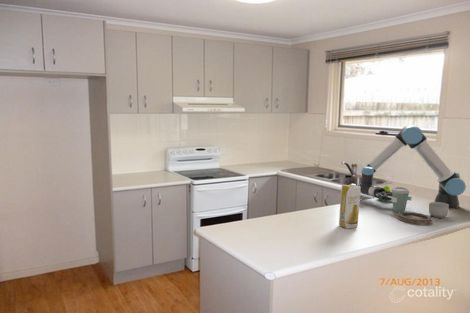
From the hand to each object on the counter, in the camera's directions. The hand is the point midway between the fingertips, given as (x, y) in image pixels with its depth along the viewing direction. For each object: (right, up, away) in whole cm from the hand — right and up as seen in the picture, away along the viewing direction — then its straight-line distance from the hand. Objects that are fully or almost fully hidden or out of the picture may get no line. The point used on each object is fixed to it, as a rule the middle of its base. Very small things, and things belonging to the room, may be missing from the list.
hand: (403, 199), depth 235 cm
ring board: (0, -10, -14) cm, 18 cm away
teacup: (+19, -10, -3) cm, 22 cm away
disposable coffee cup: (-2, -8, +4) cm, 9 cm away
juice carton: (-44, -11, -31) cm, 55 cm away
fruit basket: (+2, -5, +33) cm, 33 cm away
